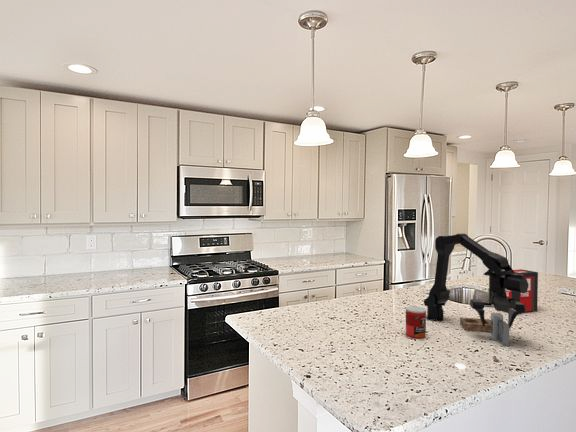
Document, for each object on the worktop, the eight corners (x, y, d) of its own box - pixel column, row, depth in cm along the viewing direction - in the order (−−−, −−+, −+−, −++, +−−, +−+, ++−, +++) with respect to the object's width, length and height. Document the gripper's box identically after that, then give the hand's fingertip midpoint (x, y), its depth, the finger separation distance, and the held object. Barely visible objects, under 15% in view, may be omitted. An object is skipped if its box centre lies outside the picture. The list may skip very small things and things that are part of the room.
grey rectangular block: (503, 346, 136) (503, 325, 136) (498, 341, 141) (498, 320, 141) (509, 346, 136) (509, 325, 136) (504, 341, 141) (504, 321, 141)
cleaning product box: (512, 314, 177) (513, 274, 176) (497, 309, 185) (497, 271, 185) (537, 311, 182) (537, 272, 182) (520, 307, 191) (521, 269, 190)
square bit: (493, 340, 142) (493, 314, 142) (490, 337, 146) (490, 312, 146) (502, 340, 142) (503, 315, 141) (499, 337, 145) (500, 313, 145)
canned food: (416, 340, 142) (416, 312, 142) (401, 334, 149) (401, 307, 149) (430, 337, 145) (430, 310, 145) (414, 331, 153) (415, 305, 152)
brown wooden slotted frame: (464, 330, 153) (464, 323, 153) (460, 324, 162) (460, 317, 162) (496, 333, 150) (496, 325, 150) (489, 326, 159) (489, 319, 159)
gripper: (476, 291, 138) (476, 331, 138) (532, 294, 133) (531, 336, 134) (469, 285, 149) (469, 322, 149) (520, 287, 144) (519, 326, 144)
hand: (496, 326), depth 144 cm, fingers open, 9 cm apart
